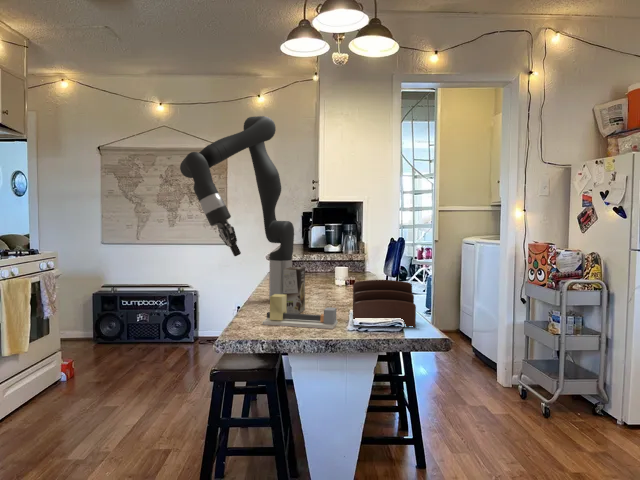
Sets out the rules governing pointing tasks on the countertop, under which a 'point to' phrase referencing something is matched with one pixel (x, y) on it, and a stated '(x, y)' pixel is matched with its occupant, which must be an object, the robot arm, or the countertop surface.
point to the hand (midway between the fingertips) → (237, 255)
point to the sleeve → (278, 306)
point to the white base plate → (306, 319)
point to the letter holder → (384, 300)
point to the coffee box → (294, 289)
